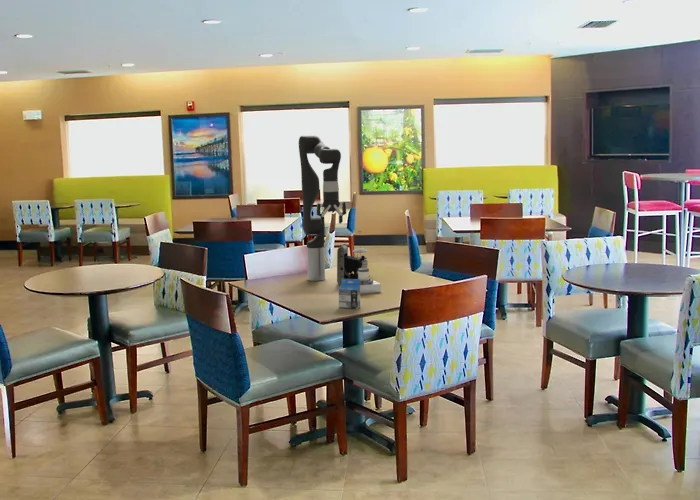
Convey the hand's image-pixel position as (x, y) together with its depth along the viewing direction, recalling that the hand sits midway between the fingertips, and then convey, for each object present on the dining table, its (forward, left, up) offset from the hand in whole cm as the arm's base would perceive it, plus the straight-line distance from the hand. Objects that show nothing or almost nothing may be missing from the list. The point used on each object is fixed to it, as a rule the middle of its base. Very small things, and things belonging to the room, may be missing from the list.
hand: (331, 224), depth 344 cm
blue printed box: (+43, -4, -32) cm, 54 cm away
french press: (-28, +22, -32) cm, 48 cm away
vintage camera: (-9, +13, -32) cm, 36 cm away
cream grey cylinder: (+12, +12, -28) cm, 33 cm away
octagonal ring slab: (+12, +12, -32) cm, 36 cm away
